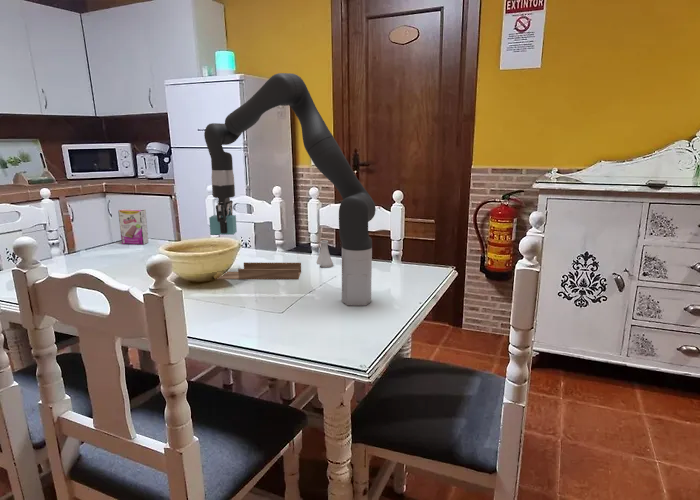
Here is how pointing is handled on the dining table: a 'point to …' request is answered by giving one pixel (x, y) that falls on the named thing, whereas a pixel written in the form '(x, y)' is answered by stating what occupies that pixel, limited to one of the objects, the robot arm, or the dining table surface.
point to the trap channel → (266, 271)
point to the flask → (324, 255)
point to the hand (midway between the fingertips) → (226, 231)
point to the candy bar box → (133, 226)
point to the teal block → (216, 225)
